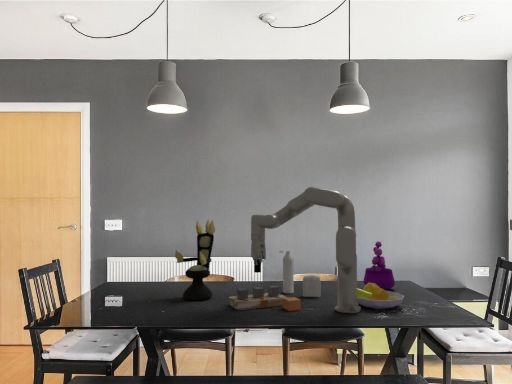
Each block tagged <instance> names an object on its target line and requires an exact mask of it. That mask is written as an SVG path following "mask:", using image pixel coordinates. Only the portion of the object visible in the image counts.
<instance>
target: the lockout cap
mask: <svg viewBox="0 0 512 384" xmlns="http://www.w3.org/2000/svg"><path fill="white" fill-rule="evenodd" d="M301 303H302V299H299V298H297V297H295V296H292V297H288V298H283V306H282V308H283V309H284V310H286V311H288V312H294V311H301V310H302V309H301V308H302V304H301Z"/></svg>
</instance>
